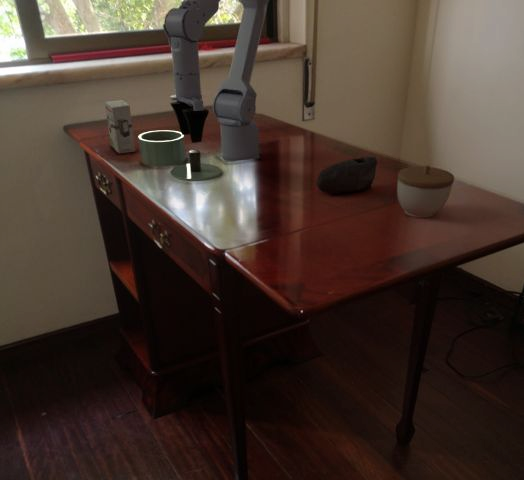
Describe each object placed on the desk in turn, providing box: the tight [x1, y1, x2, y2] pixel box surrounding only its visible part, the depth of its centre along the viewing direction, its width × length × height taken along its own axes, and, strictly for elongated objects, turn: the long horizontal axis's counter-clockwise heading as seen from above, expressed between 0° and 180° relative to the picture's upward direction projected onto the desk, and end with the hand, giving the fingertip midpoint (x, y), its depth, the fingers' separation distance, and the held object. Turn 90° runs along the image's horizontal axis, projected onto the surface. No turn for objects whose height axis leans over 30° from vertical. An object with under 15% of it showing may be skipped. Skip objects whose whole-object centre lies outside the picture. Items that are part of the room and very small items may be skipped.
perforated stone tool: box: [316, 156, 378, 194], centre depth 117 cm, size 15×5×7 cm, turn 110°
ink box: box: [104, 99, 136, 154], centre depth 143 cm, size 9×5×12 cm, turn 27°
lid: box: [169, 149, 222, 182], centre depth 127 cm, size 12×12×6 cm
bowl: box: [137, 129, 187, 167], centre depth 135 cm, size 11×11×6 cm
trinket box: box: [396, 164, 455, 219], centre depth 106 cm, size 11×11×9 cm
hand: (191, 138), depth 124 cm, fingers open, 7 cm apart
